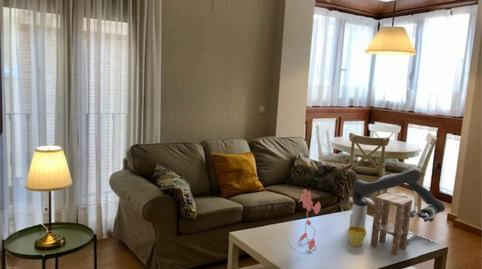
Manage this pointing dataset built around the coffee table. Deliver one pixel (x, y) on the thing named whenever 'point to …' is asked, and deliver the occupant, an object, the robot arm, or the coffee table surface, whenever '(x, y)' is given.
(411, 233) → the brushed grey block
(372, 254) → the coffee table surface
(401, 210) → the walnut stand
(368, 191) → the robot arm
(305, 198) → the figurine
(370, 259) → the coffee table surface
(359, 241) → the plant pot
